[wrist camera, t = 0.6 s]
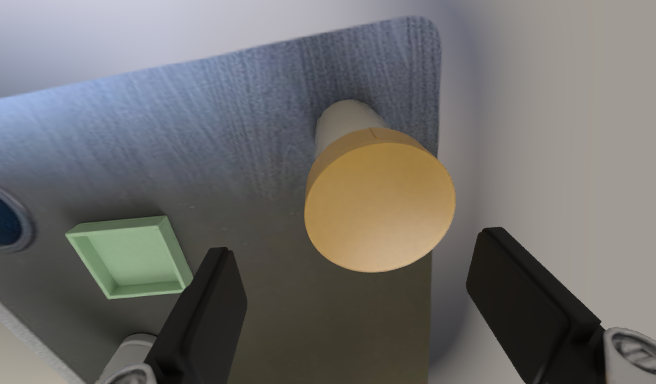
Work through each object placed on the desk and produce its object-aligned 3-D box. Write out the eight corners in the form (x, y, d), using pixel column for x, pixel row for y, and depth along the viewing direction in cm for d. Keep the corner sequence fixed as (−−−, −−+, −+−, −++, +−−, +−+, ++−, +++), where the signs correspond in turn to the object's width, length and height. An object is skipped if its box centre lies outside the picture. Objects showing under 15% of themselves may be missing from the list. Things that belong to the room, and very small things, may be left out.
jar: (311, 103, 25) (305, 154, 12) (382, 96, 25) (449, 141, 12) (318, 168, 28) (319, 264, 15) (381, 162, 28) (435, 253, 15)
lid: (297, 133, 14) (293, 149, 11) (442, 119, 14) (467, 132, 11) (313, 248, 17) (312, 278, 15) (429, 237, 17) (446, 266, 15)
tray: (79, 223, 30) (64, 233, 28) (166, 215, 30) (157, 225, 28) (118, 286, 34) (107, 299, 33) (194, 279, 34) (188, 291, 33)
